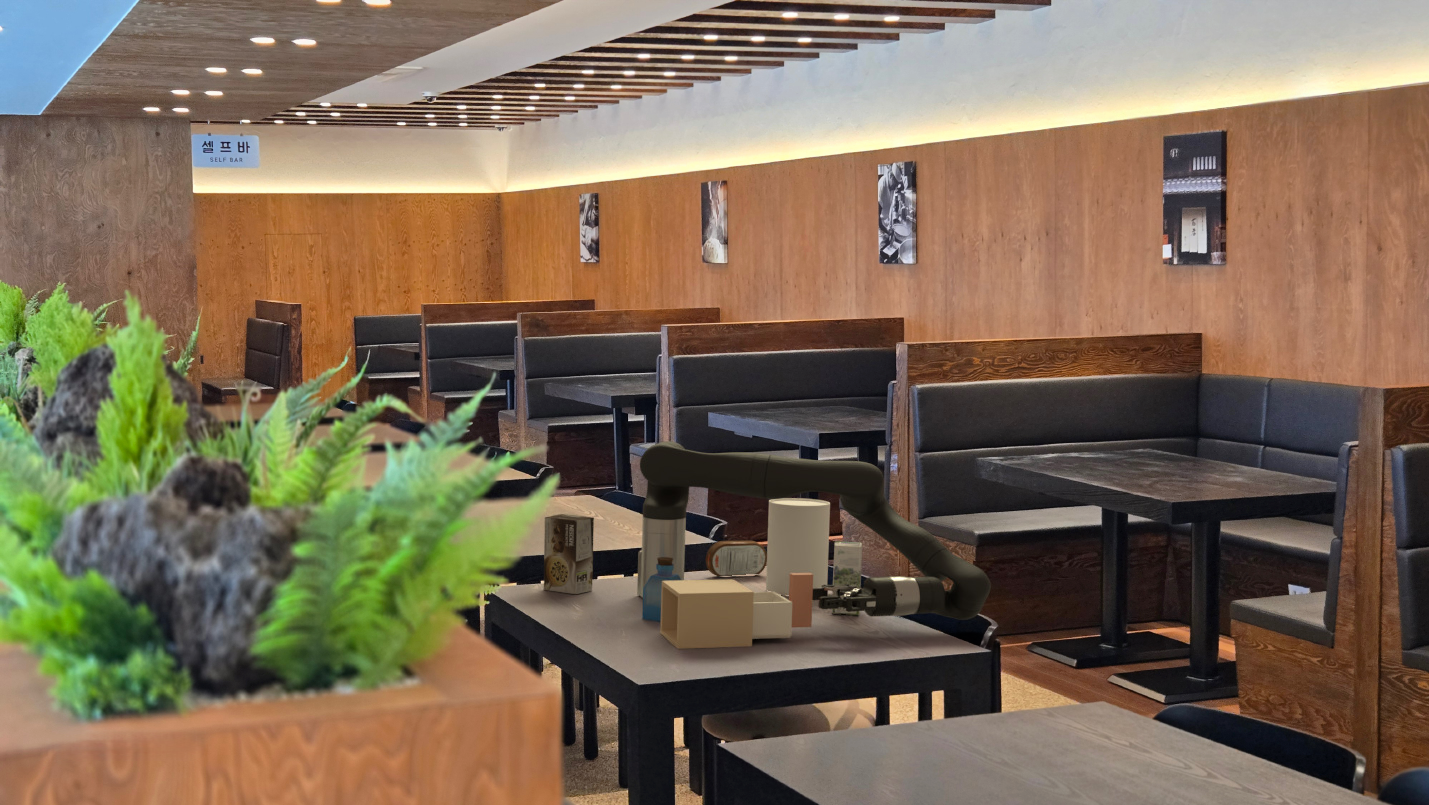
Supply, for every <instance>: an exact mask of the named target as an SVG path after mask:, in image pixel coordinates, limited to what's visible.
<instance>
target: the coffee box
mask: <svg viewBox="0 0 1429 805" xmlns="http://www.w3.org/2000/svg"><path fill="white" fill-rule="evenodd" d="M594 520H595V517H591V516H583V515H574V514H563V513H562V514H554V515H550V516H545V517H544V536H543V537H544V538H543V540H544V542H543V543H544V550H543V552H544V555H543V558H544V560H543V562H544V563H543V590H544V591H550V592H558V593H564V594H571V595H578V594H582V593H584V594H585V593H588V592H592V591H593V575H594V574H593V572H594V570H593V568H594V567H593V566H594V565H593V564H594V562H593V560H594V528H595V527H594V524H595V523H594V522H595V521H594Z"/></svg>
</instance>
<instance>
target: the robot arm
mask: <svg viewBox="0 0 1429 805" xmlns="http://www.w3.org/2000/svg"><path fill="white" fill-rule="evenodd" d="M639 470H640V472H641V474H642V476H643V477H644V479H646V481H647V487H646V488H647V489H646V496H645V499H644V502H643V506H642V528H641V530H642V531H641V532H642V533H641V536H642V537H641V549H640V550H639V551H638V552H637V553H638V555H637V557H638V558H637V560H638V561H637V588H636V590H637V592H636V593H637V594H636V595H638V596H640V598H642V599H643V588H644V586H645V584H646V583H647V581H648V580H649V578H650V576H651V575H654V574H657V573H658V570H657V569H656V564H658V560H657V558H659V557H670V558H673V561H672V564H674V567H673V570H672V574H677V575H679V577H680V579H681V580H685V559H686V558H685V556H686V553H685V552H686V524H687V522H686V520H687V519H686V517H687V507H688V504H689V498H690V497H689V496H690V493H689V492H690V488H701V489H702V488H703V489H708V490H713V491H718V492H722V493H727V494H733V495H737V496H745V497H749V498H758V499H765V500H766V499H767V500H772V499H781V498H791V497H793V496H797V495H800V494H804V493H811V492H813V493H815V492H816V493H827V494H834V495H839V500H840V503H841V506H842V507H843V510H844V511H846V512H847V514H849V515H850V516H852V517H853V518H854V519H856V520H858V521H859V522H860V523H861V524H863V525H864V526H865V527H867V528H869V529H870V530H872V531H873V532H874V533H876V535H878V536H880V537H881V538H882V539H884V540H885V541H886V542H887V543H889V544H890V545H891V546H893V547H894V548H895V549H896V550H897V551H898V552H899V553H900V554H901V555H903V556H904V557H905V559H907V560H908V561H909V562H910V563H911V564H912V565H913V566H914V568H916V569H917V570H918V571H919V572H920V573H921V574H922V575H923V576H914V577H913V576H912V577H911V576H904V575H903V576H900V575H899V576H869V577H867V578H865V580H864V581H863V584H862V586H861V587H860V588H857V586H854V585H849V584H847V585H833V584H827V585H822V588H813V597H812V601H818V608H819V609H821V610H832V609H840V610H846V611H848V612H850V611H859V612H863V611H864V612H865V614H866V615H867V616H869V617H872V618H873V617H895V616H896V617H897V616H907V615H916V614H935V615H938V616H942V617H947V618H950V619H951V618H952V619H955V620H963V621H964V620H970V619H973V618H975V617H977V615H979V614H980V613H981V611H982V608H983V607H984V605H985V603H986V601H987V598H988V597H989V595H990V592H991V589H992V586H991V585H992V584H991V581H990V579H989V577H988V575H987V574H986V573H985V572H984V570H983V569H981V568H979V567H978V566H977V565H975V564H972V563H971V562H969V561H967V560H966V559H963V558H961V557H960V556H958V555H955V554H954V553H952V551H951V550H949V549H948V548H947V547H946V546H945V545H944V544H943V543H942V542H941V541H940V540H939V539H938V538H936V536H934V534H932V533H931V532H929V531H928V530H926V529H924V528H923V527H921V526H919V525H917V524H915V523H912V522H910V521H909V520H907V519H905V518H904V517H902V516H901V515H900V514H899V513H898V512H897V511H896V510H895V508H893V507H892V505H891V504H890V503H889V501H888V500H887V499H886V497H885V478H884V474H883V472H882V471H881V469H880V468H879V467H877V466H875V465H874V464H872V463H868V462H865V461H857V460H856V461H855V460H817V459H816V460H815V459H808V458H801V457H799V458H797V457H788V456H781V455H775V454H767V453H758V452H757V453H756V452H739V451H738V452H737V451H735V452H719V453H718V452H715V453H711V452H710V453H709V452H708V453H707V452H700V451H694V450H689V449H685V447H684V446H683V445H682V444H680V443H678V442H677V441H670V440H667V441H662V442H661V441H660V442H658V443H655V444H654V445H651V446H650V447H648V448H647V449H646V450H645V451H644V453H643V454H642V456H641V457H640V460H639ZM946 579H949V580H950V581H952V585H951V586H950V589H948V590H945V586H944V584H943V582H944V581H945V580H946ZM830 591H831V592H832V594H829V592H830Z"/></svg>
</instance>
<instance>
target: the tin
mask: <svg viewBox="0 0 1429 805" xmlns="http://www.w3.org/2000/svg"><path fill="white" fill-rule="evenodd" d="M705 565H706V568H707V569H708V571H709V572H710V573H711V574H712V575H714V576H716V577H718V576H732V575H746V574H758V575H760V574H761V573H762V572H763V571H764V570H765V569H766V567H767V550H766V549H765V547H764V546H763V545H762V544H760V543H758V542H757V541H755V540H721V541H717V542H715V543H713V544H712V545H711V546H710V547H709V549H708V550H707V553H706V556H705Z"/></svg>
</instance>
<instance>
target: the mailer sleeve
mask: <svg viewBox="0 0 1429 805" xmlns="http://www.w3.org/2000/svg"><path fill="white" fill-rule="evenodd" d="M754 592H755V591H753V590H751V589H750V588H748V587H746V586H744V585H743V584H741V583H740V582H738V581H737V580H735V579H731V578H729V579H728V578H727V579H693V580H692V579H691V580H689V579H687V580H685V579H684V580H676V581H662V595H661V622H660V632H659V633H660V635H662V636H663V637H664V638H665V640H668V642H669V643H670V644H671V645H673V646H674V647H675V648H676V649H677V650H679V649H680V650H681V649H682V650H683V649H685V650H686V649H710V648H714V649H715V648H740V647H753V639H752V628H753V597H754Z"/></svg>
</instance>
